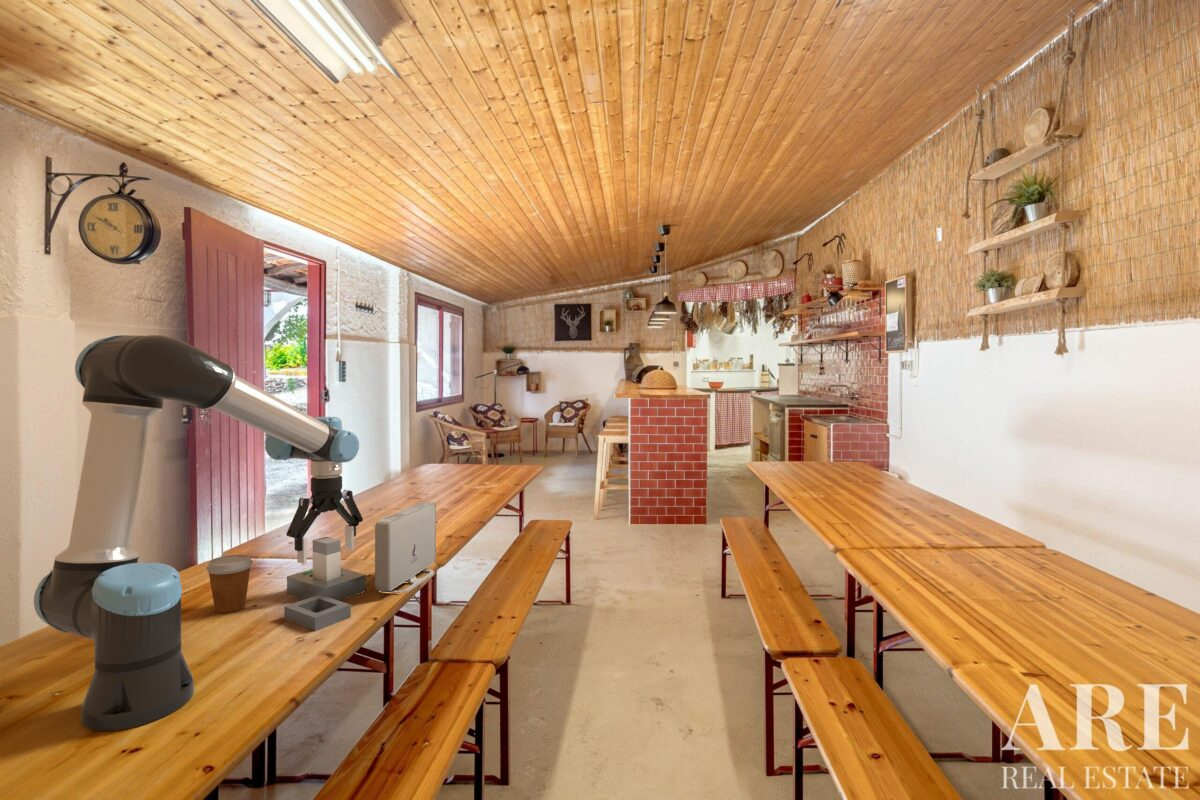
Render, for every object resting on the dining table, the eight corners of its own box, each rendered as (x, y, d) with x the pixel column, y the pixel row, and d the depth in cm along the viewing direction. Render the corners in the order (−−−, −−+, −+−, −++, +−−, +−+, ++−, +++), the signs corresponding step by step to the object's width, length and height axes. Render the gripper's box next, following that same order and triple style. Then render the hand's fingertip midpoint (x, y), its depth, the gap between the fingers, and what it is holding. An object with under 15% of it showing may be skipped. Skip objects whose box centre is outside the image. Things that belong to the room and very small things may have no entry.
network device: (395, 600, 148) (396, 523, 147) (365, 597, 149) (365, 520, 149) (442, 568, 173) (443, 502, 172) (415, 566, 174) (416, 500, 174)
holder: (315, 631, 129) (315, 617, 129) (284, 618, 135) (284, 606, 135) (350, 617, 137) (350, 604, 137) (319, 606, 143) (319, 594, 143)
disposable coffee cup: (258, 608, 141) (258, 559, 141) (212, 619, 134) (212, 568, 134) (246, 597, 148) (245, 551, 147) (202, 608, 141) (201, 559, 140)
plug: (326, 597, 149) (326, 543, 148) (312, 592, 152) (312, 540, 151) (340, 592, 152) (340, 540, 152) (326, 587, 155) (326, 536, 155)
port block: (324, 606, 143) (324, 587, 143) (286, 593, 151) (286, 575, 151) (365, 591, 153) (365, 573, 153) (328, 579, 161) (328, 563, 161)
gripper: (288, 484, 138) (288, 571, 139) (376, 471, 160) (376, 546, 161) (270, 481, 142) (271, 566, 143) (358, 468, 164) (358, 542, 164)
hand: (326, 556), depth 152 cm, fingers open, 13 cm apart
